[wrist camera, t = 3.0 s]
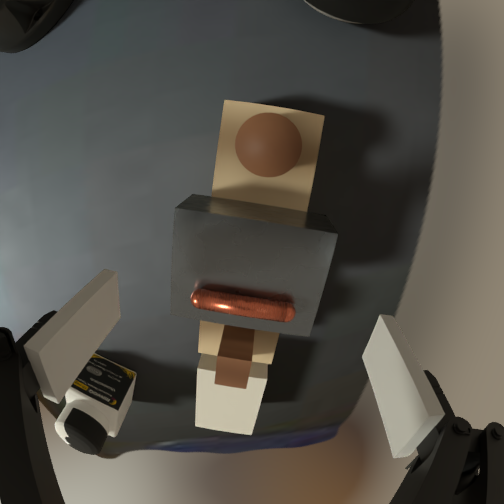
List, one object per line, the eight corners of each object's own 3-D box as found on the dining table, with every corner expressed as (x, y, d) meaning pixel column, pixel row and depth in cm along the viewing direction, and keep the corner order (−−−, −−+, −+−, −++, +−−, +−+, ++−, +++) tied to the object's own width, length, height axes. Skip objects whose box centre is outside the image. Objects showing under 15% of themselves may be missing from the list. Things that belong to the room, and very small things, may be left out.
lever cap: (192, 193, 20) (167, 213, 15) (325, 215, 20) (342, 241, 15) (185, 285, 22) (165, 325, 17) (303, 304, 22) (310, 348, 17)
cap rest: (207, 335, 30) (197, 368, 25) (268, 345, 30) (267, 379, 25) (202, 395, 34) (195, 426, 29) (253, 403, 34) (251, 435, 29)
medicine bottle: (137, 371, 33) (102, 445, 22) (132, 401, 36) (103, 467, 25) (88, 348, 33) (43, 413, 22) (88, 380, 35) (52, 440, 24)
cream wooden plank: (233, 107, 22) (212, 90, 13) (313, 119, 22) (338, 110, 13) (208, 320, 29) (188, 384, 21) (271, 330, 29) (270, 398, 21)
